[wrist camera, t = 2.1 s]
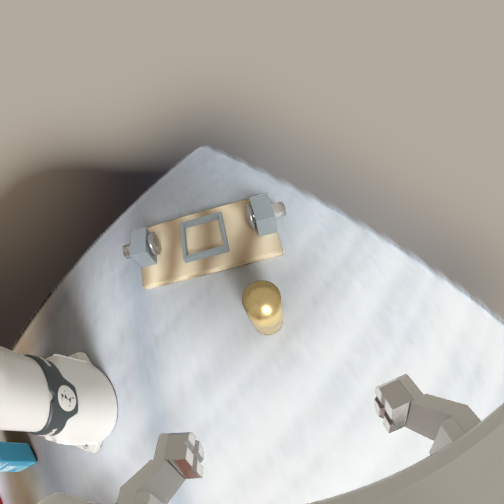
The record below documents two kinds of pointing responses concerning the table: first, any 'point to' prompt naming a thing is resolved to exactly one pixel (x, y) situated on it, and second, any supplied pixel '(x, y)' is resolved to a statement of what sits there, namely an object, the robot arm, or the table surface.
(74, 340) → the table surface
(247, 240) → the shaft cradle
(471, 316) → the table surface
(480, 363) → the table surface
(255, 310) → the cylinder
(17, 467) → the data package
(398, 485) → the robot arm
